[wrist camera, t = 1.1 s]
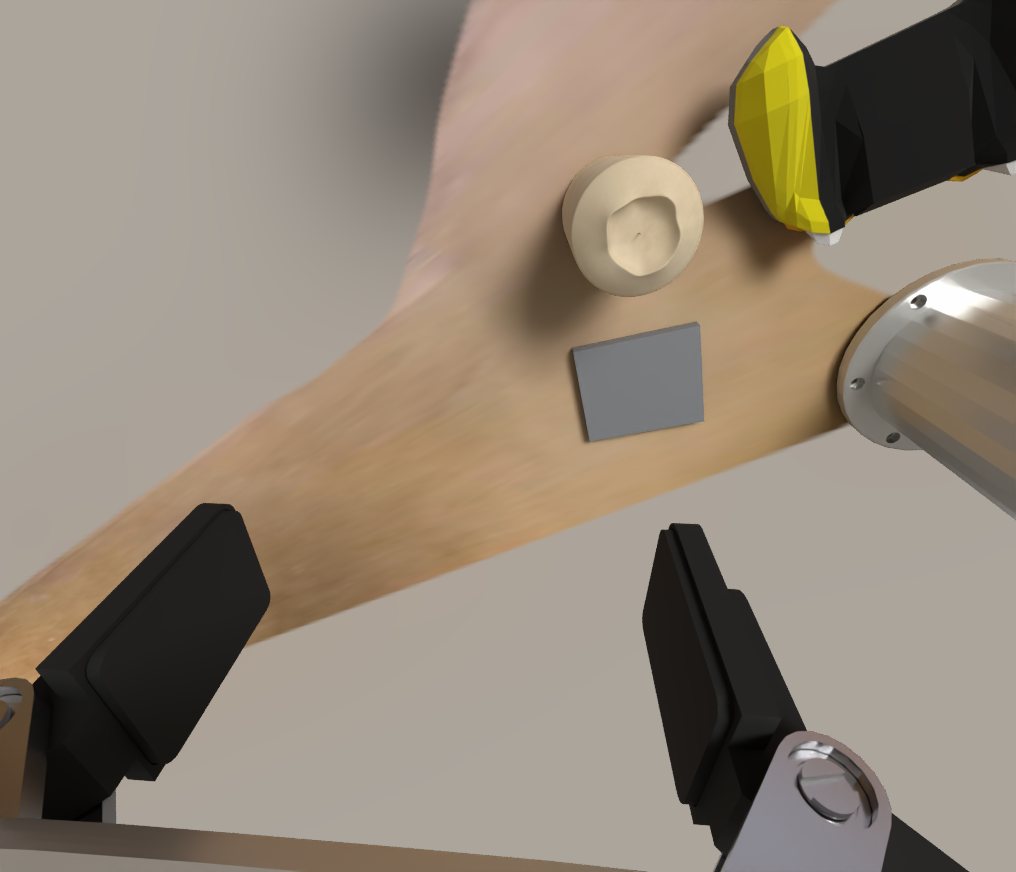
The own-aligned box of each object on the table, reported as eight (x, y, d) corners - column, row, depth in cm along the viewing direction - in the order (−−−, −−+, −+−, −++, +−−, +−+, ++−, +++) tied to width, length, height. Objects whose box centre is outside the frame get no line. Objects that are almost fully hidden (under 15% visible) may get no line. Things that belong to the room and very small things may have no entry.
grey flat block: (696, 321, 30) (699, 325, 30) (700, 415, 34) (704, 421, 33) (572, 347, 32) (573, 352, 31) (588, 436, 35) (589, 441, 34)
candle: (542, 224, 28) (545, 255, 19) (603, 132, 25) (637, 120, 17) (614, 279, 29) (647, 330, 21) (678, 196, 27) (746, 216, 18)
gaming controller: (700, 66, 24) (736, 258, 28) (741, 44, 19) (776, 278, 24) (1057, -113, 20) (1033, 140, 25) (1216, -195, 15) (1151, 136, 20)
